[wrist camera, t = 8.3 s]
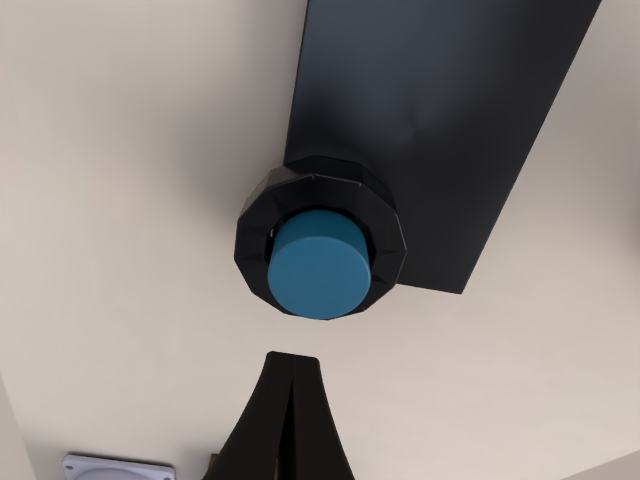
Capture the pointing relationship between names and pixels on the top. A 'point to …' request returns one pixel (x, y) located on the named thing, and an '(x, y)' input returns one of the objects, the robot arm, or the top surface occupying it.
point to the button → (319, 265)
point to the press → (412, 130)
